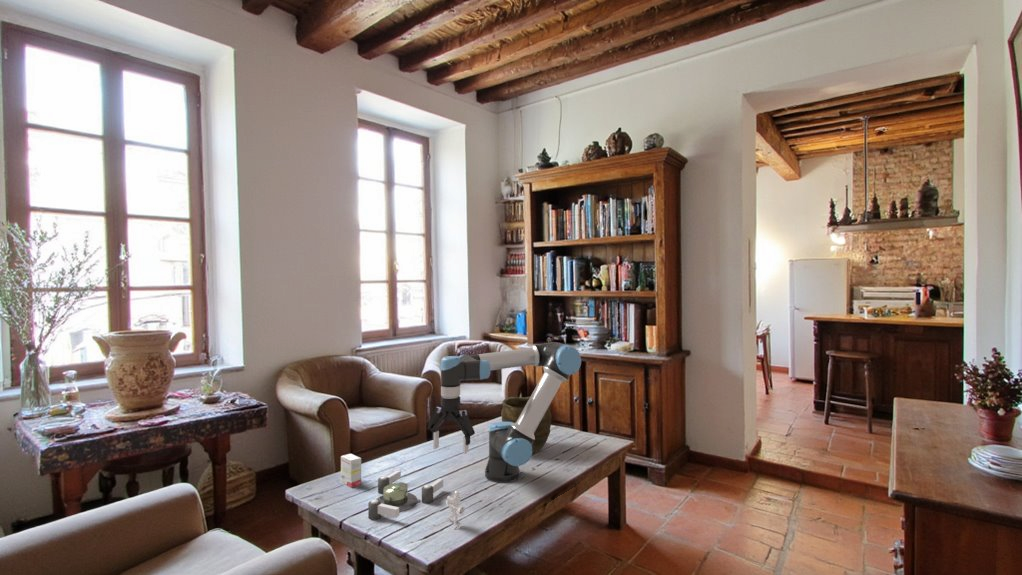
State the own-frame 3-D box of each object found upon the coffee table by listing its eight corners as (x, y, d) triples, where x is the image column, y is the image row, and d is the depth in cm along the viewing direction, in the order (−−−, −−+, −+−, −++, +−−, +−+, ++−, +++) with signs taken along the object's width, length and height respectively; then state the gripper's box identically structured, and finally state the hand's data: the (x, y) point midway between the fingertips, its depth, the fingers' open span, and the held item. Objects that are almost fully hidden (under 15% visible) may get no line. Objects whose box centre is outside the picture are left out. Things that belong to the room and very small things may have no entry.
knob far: (384, 494, 190) (384, 480, 190) (375, 492, 191) (375, 478, 191) (403, 482, 201) (403, 469, 201) (394, 481, 203) (394, 467, 203)
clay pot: (560, 447, 245) (560, 399, 245) (535, 463, 224) (535, 410, 223) (517, 439, 259) (517, 392, 258) (491, 453, 237) (491, 402, 237)
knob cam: (365, 518, 171) (365, 502, 171) (373, 512, 175) (373, 497, 175) (393, 525, 166) (393, 509, 166) (401, 519, 170) (401, 503, 170)
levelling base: (436, 501, 186) (436, 483, 186) (400, 529, 164) (400, 509, 164) (382, 489, 196) (382, 472, 196) (341, 514, 175) (341, 496, 175)
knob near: (429, 504, 181) (429, 489, 181) (419, 502, 183) (419, 487, 183) (446, 491, 193) (446, 477, 192) (436, 489, 194) (436, 475, 194)
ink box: (362, 485, 200) (361, 457, 199) (351, 489, 196) (351, 460, 196) (350, 480, 205) (350, 452, 205) (340, 483, 202) (340, 455, 201)
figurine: (449, 519, 171) (449, 486, 171) (469, 526, 166) (469, 492, 166) (440, 525, 167) (440, 491, 167) (461, 532, 162) (461, 497, 162)
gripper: (483, 397, 186) (483, 451, 186) (429, 391, 196) (429, 442, 197) (474, 401, 179) (474, 458, 180) (418, 395, 190) (418, 448, 190)
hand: (450, 450), depth 188 cm, fingers open, 13 cm apart
